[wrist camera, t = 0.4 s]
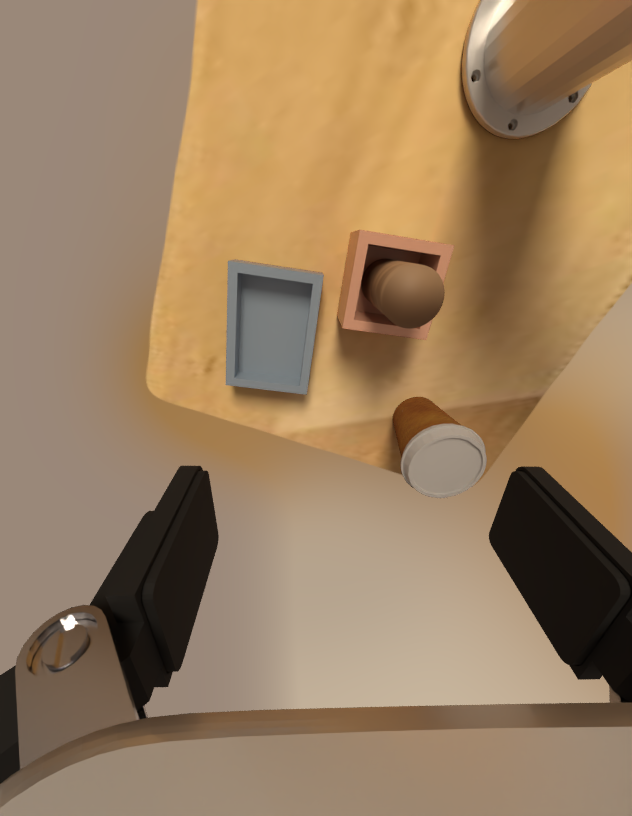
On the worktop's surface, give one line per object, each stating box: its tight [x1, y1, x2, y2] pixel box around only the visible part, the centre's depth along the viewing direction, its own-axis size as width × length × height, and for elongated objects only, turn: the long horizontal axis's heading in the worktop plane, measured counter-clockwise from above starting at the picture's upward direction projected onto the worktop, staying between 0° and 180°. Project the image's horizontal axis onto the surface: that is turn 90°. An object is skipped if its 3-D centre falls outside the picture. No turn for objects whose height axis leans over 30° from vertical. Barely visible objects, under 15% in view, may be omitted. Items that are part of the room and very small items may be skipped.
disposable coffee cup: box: [393, 397, 487, 498], centre depth 41 cm, size 10×10×12 cm
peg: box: [361, 259, 444, 329], centre depth 32 cm, size 5×5×12 cm
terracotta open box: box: [337, 230, 454, 340], centre depth 35 cm, size 9×9×7 cm
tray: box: [226, 260, 324, 395], centre depth 38 cm, size 14×10×4 cm
